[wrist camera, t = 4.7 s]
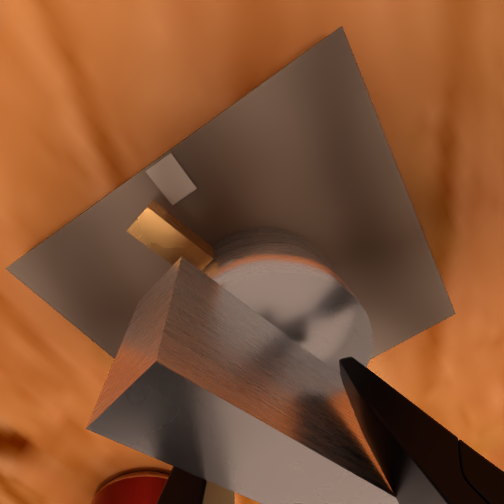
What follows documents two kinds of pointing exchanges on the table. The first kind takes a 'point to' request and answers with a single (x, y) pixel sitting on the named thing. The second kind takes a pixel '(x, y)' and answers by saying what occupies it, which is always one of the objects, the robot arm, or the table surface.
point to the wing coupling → (244, 368)
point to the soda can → (132, 489)
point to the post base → (260, 205)
